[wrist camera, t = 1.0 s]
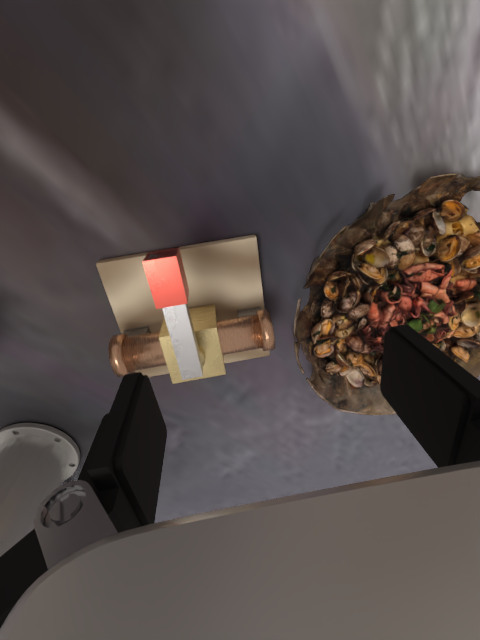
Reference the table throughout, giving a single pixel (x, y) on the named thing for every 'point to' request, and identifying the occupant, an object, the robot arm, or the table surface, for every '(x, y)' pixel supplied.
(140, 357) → the valve pipe
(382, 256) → the food dish
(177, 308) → the valve lever
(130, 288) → the beige board
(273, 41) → the table surface
